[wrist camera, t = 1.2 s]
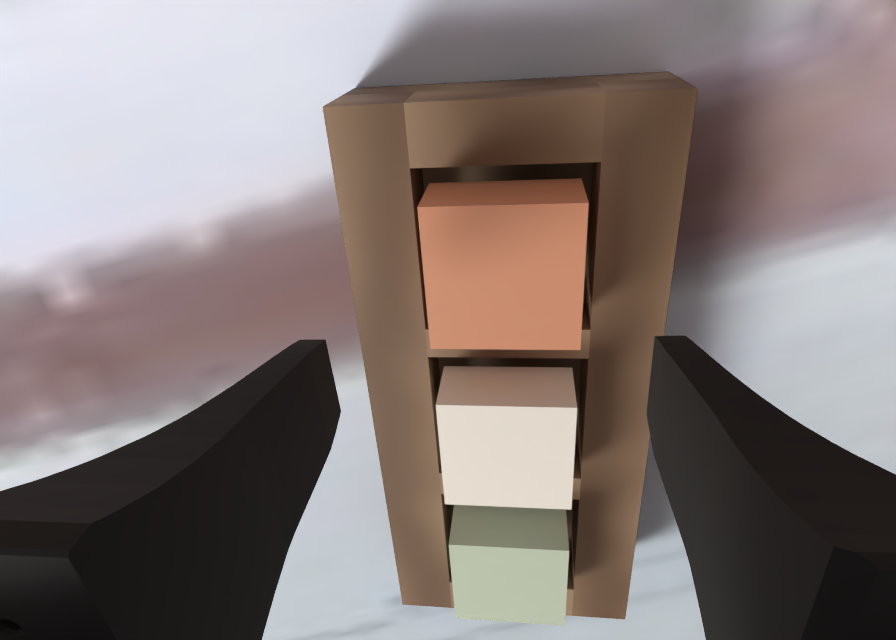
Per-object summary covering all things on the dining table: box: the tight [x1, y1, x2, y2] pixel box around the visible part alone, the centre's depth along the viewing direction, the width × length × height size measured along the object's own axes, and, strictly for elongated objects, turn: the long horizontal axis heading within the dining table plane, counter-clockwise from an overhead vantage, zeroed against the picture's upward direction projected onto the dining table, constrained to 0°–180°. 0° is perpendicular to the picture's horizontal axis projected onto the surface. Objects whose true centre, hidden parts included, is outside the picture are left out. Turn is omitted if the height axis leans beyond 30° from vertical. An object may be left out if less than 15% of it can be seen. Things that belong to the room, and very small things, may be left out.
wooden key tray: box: [323, 72, 698, 619], centre depth 22 cm, size 10×22×4 cm, turn 4°
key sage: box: [449, 505, 569, 626], centre depth 23 cm, size 4×4×2 cm
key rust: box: [417, 178, 589, 350], centre depth 17 cm, size 4×4×2 cm
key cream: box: [436, 366, 577, 510], centre depth 20 cm, size 4×4×2 cm
